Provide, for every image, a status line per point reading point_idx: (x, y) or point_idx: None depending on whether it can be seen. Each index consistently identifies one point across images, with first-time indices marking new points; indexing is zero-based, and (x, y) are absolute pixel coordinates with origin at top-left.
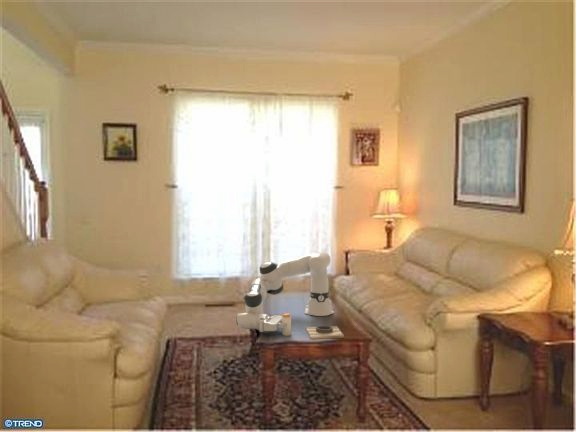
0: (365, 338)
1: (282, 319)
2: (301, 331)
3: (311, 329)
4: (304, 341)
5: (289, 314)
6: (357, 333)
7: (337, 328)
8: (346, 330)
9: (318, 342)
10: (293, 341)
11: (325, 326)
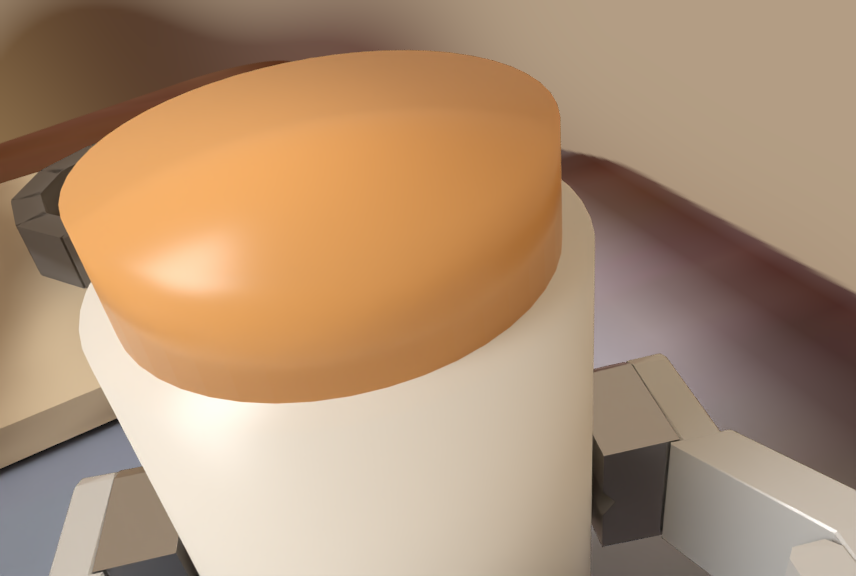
0: (259, 64)
1: (561, 439)
2: (57, 532)
3: (71, 348)
4: (658, 270)
5: (306, 73)
6: (116, 115)
7: (11, 185)
8: (5, 178)
9: (576, 174)
10: (803, 371)
11: (47, 195)
